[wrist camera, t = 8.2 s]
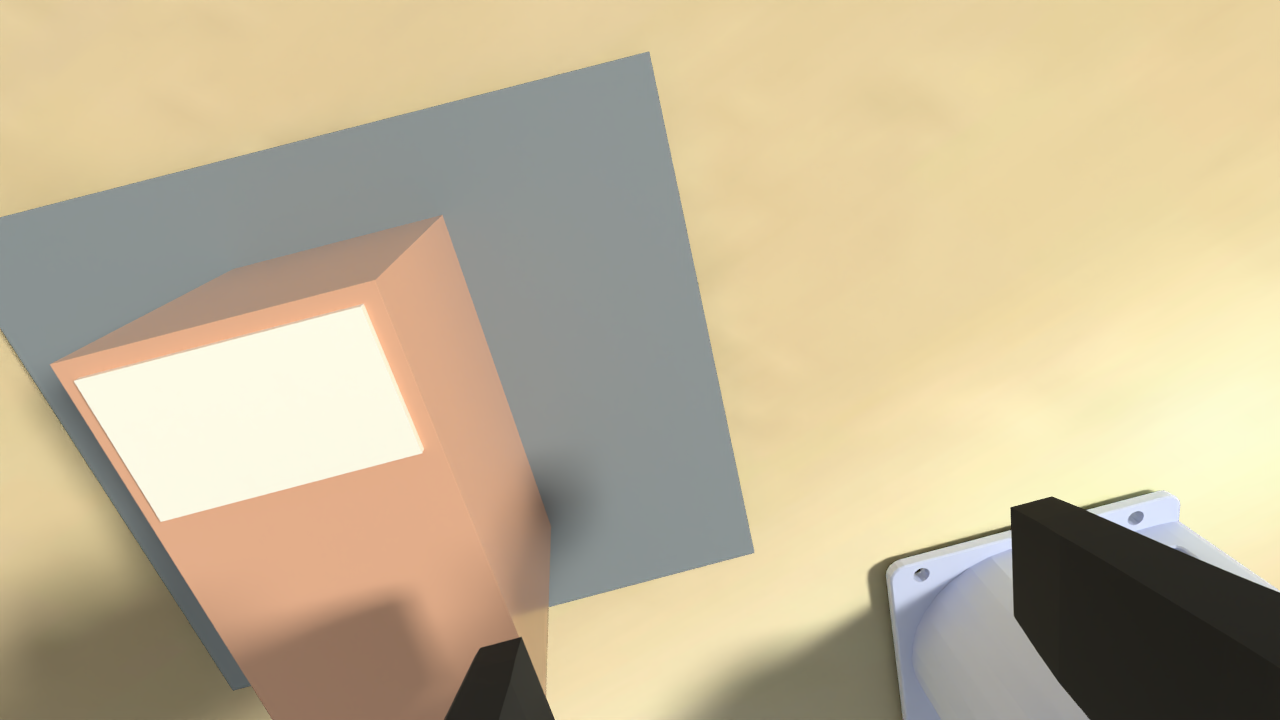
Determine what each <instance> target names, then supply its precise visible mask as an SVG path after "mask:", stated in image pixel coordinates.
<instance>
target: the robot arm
mask: <svg viewBox="0 0 1280 720" xmlns="http://www.w3.org/2000/svg"><path fill="white" fill-rule="evenodd" d="M1179 513H1180V501H1179V499H1178V498H1177V497H1176V496H1174V495H1172V494H1171V493H1169V492H1167V491H1164V490H1163V491H1156V492H1153V493H1149V494H1145V495H1141V496H1137V497H1134V498H1130V499H1126V500H1122V501H1119V502H1115V503H1111V504H1107V505H1103V506H1100V507H1096V508H1092V509H1088V510H1084V509H1082V508H1079V507H1077V506H1074V505H1072V504H1070V503H1067V502H1064V501H1062V500H1059V499H1057V498H1054V497H1048V498H1045V499H1041V500H1037V501H1033V502H1029V503H1026V504H1022V505H1018V506H1014V507H1011V530H1009V531H1005V532H1002V533H998V534H994V535H990V536H986V537H983V538H979V539H975V540H971V541H968V542H964V543H960V544H956V545H953V546H949V547H945V548H941V549H937V550H934V551H930V552H926V553H922V554H919V555H915V556H911V557H907V558H903V559H900V560H897V561H895V562H893V563H892V564H891V565H890V566H889V567H888V569H887V571H886V581H887V589H888V598H889V606H890V614H891V623H892V631H893V640H894V648H895V656H896V665H897V673H898V682H899V690H900V699H901V707H902V715H903V720H1280V591H1279V590H1278V589H1277V588H1275V587H1274V586H1272V585H1271V584H1269V583H1268V582H1266V581H1265V580H1264V579H1262V578H1261V577H1259V576H1258V575H1256V574H1255V573H1253V572H1252V571H1250V570H1249V569H1248V568H1246V567H1245V566H1243V565H1242V564H1240V563H1239V562H1237V561H1236V560H1235V559H1233V558H1232V557H1230V556H1229V555H1227V554H1226V553H1224V552H1223V551H1222V550H1220V549H1219V548H1217V547H1216V546H1214V545H1213V544H1211V543H1210V542H1208V541H1207V540H1206V539H1204V538H1203V537H1201V536H1200V535H1198V534H1197V533H1195V532H1194V531H1193V530H1191V529H1190V528H1188V527H1187V526H1185V525H1184V524H1182V523H1181V522H1179ZM921 568H923V569H922V570H921V571H920V572H918V573H915V572H916V571H917V570H919V569H921ZM444 720H555V719H554V717H553V714H552V712H551V709H550V707H549V704H548V702H547V699H546V697H545V694H544V692H543V689H542V686H541V684H540V681H539V679H538V676H537V674H536V671H535V669H534V666H533V664H532V661H531V659H530V656H529V654H528V651H527V649H526V646H525V644H524V641H523V639H522V637H519V638H515V639H512V640H508V641H504V642H500V643H496V644H493V645H489V646H485V647H481V648H480V649H479V650H478V652H477V654H476V655H475V657H474V659H473V661H472V663H471V665H470V667H469V669H468V671H467V673H466V675H465V677H464V680H463V682H462V684H461V686H460V688H459V690H458V692H457V694H456V696H455V698H454V700H453V702H452V704H451V706H450V708H449V710H448V712H447V714H446V716H445V718H444Z"/></svg>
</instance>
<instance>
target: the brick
mask: <svg viewBox="0 0 1280 720" xmlns="http://www.w3.org/2000/svg"><path fill="white" fill-rule="evenodd" d="M50 366H51V367H52V369H53V370H54V372H55V374H56V375H57V377H58V378H59V380H60V382H61V383H62V385H63V386H64V388H65V390H66V391H67V393H68V394H69V396H70V397H71V399H72V401H73V402H74V404H75V405H76V407H77V409H78V410H79V412H80V413H81V415H82V417H83V418H84V420H85V421H86V423H87V425H88V426H89V428H90V429H91V431H92V433H93V434H94V436H95V437H96V439H97V441H98V442H99V444H100V445H101V447H102V448H103V450H104V452H105V453H106V455H107V456H108V458H109V460H110V461H111V463H112V464H113V466H114V468H115V469H116V471H117V472H118V474H119V476H120V477H121V479H122V480H123V482H124V484H125V485H126V487H127V488H128V490H129V492H130V493H131V495H132V496H133V498H134V500H135V501H136V503H137V504H138V506H139V507H140V509H141V511H142V512H143V514H144V515H145V517H146V519H147V520H148V522H149V523H150V525H151V527H152V528H153V530H154V531H155V533H156V535H157V536H158V538H159V539H160V541H161V543H162V544H163V546H164V547H165V549H166V551H167V552H168V554H169V555H170V557H171V559H172V560H173V562H174V563H175V565H176V566H177V568H178V570H179V571H180V573H181V574H182V576H183V578H184V579H185V581H186V582H187V584H188V586H189V587H190V589H191V590H192V592H193V594H194V595H195V597H196V598H197V600H198V602H199V603H200V605H201V606H202V608H203V610H204V611H205V613H206V614H207V616H208V618H209V619H210V621H211V622H212V624H213V625H214V627H215V629H216V630H217V632H218V633H219V635H220V637H221V638H222V640H223V641H224V643H225V645H226V646H227V648H228V649H229V651H230V653H231V654H232V656H233V657H234V659H235V661H236V662H237V664H238V665H239V667H240V669H241V670H242V672H243V673H244V675H245V676H246V678H247V680H248V681H249V683H250V684H251V686H252V688H253V689H254V691H255V692H256V694H257V696H258V697H259V699H260V700H261V702H262V704H263V705H264V707H265V708H266V710H267V712H268V713H269V715H270V716H271V718H272V720H444V718H445V716H446V714H447V712H448V710H449V708H450V706H451V704H452V702H453V700H454V698H455V696H456V694H457V692H458V690H459V688H460V686H461V684H462V682H463V680H464V677H465V675H466V673H467V671H468V669H469V667H470V665H471V663H472V661H473V659H474V657H475V655H476V654H477V652H478V650H479V649H480V648H481V647H485V646H489V645H493V644H496V643H500V642H504V641H508V640H512V639H515V638H519V637H522V639H523V641H524V644H525V646H526V649H527V651H528V654H529V656H530V659H531V661H532V664H533V666H534V669H535V671H536V674H537V676H538V679H539V681H540V684H541V686H542V689H543V692H544V694H545V697H546V677H547V644H548V611H549V578H550V545H551V525H550V522H549V519H548V516H547V513H546V510H545V507H544V505H543V502H542V499H541V496H540V493H539V490H538V487H537V485H536V482H535V479H534V476H533V473H532V470H531V467H530V464H529V462H528V459H527V456H526V453H525V450H524V447H523V444H522V442H521V439H520V436H519V433H518V430H517V427H516V424H515V421H514V419H513V416H512V413H511V410H510V407H509V404H508V401H507V399H506V396H505V393H504V390H503V387H502V384H501V381H500V379H499V376H498V373H497V370H496V367H495V364H494V361H493V358H492V356H491V353H490V350H489V347H488V344H487V341H486V338H485V336H484V333H483V330H482V327H481V324H480V321H479V318H478V316H477V313H476V310H475V307H474V304H473V301H472V298H471V295H470V293H469V290H468V287H467V284H466V281H465V278H464V275H463V273H462V270H461V267H460V264H459V261H458V258H457V255H456V252H455V250H454V247H453V244H452V241H451V238H450V235H449V232H448V230H447V227H446V224H445V221H444V218H443V215H440V216H436V217H432V218H428V219H424V220H421V221H417V222H413V223H409V224H405V225H401V226H397V227H394V228H390V229H386V230H382V231H378V232H374V233H370V234H366V235H363V236H359V237H355V238H351V239H347V240H343V241H339V242H336V243H332V244H328V245H324V246H320V247H316V248H312V249H309V250H305V251H301V252H297V253H293V254H289V255H285V256H281V257H278V258H274V259H270V260H266V261H262V262H258V263H254V264H251V265H247V266H243V267H239V268H235V269H232V270H230V271H228V272H226V273H224V274H222V275H221V276H219V277H217V278H215V279H213V280H211V281H209V282H207V283H205V284H203V285H201V286H199V287H198V288H196V289H194V290H192V291H190V292H188V293H186V294H184V295H182V296H180V297H178V298H176V299H174V300H173V301H171V302H169V303H167V304H165V305H163V306H161V307H159V308H157V309H155V310H153V311H151V312H149V313H148V314H146V315H144V316H142V317H140V318H138V319H136V320H134V321H132V322H130V323H128V324H126V325H124V326H123V327H121V328H119V329H117V330H115V331H113V332H111V333H109V334H107V335H105V336H103V337H101V338H99V339H98V340H96V341H94V342H92V343H90V344H88V345H86V346H84V347H82V348H80V349H78V350H76V351H75V352H73V353H71V354H69V355H67V356H65V357H63V358H61V359H59V360H57V361H55V362H53V363H51V364H50Z"/></svg>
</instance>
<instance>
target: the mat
mask: <svg viewBox="0 0 1280 720" xmlns="http://www.w3.org/2000/svg"><path fill="white" fill-rule="evenodd" d="M440 215H443V218H444V221H445V224H446V227H447V230H448V232H449V235H450V238H451V241H452V244H453V247H454V250H455V252H456V255H457V258H458V261H459V264H460V267H461V270H462V273H463V275H464V278H465V281H466V284H467V287H468V290H469V293H470V295H471V298H472V301H473V304H474V307H475V310H476V313H477V316H478V318H479V321H480V324H481V327H482V330H483V333H484V336H485V338H486V341H487V344H488V347H489V350H490V353H491V356H492V358H493V361H494V364H495V367H496V370H497V373H498V376H499V379H500V381H501V384H502V387H503V390H504V393H505V396H506V399H507V401H508V404H509V407H510V410H511V413H512V416H513V419H514V421H515V424H516V427H517V430H518V433H519V436H520V439H521V442H522V444H523V447H524V450H525V453H526V456H527V459H528V462H529V464H530V467H531V470H532V473H533V476H534V479H535V482H536V485H537V487H538V490H539V493H540V496H541V499H542V502H543V505H544V507H545V510H546V513H547V516H548V519H549V522H550V525H551V545H550V578H549V607H551V606H555V605H559V604H562V603H566V602H570V601H574V600H578V599H581V598H585V597H589V596H593V595H597V594H600V593H604V592H608V591H612V590H615V589H619V588H623V587H627V586H631V585H634V584H638V583H642V582H646V581H650V580H653V579H657V578H661V577H665V576H668V575H672V574H676V573H680V572H684V571H687V570H691V569H695V568H699V567H703V566H706V565H710V564H714V563H718V562H721V561H725V560H729V559H733V558H737V557H740V556H744V555H748V554H752V553H754V549H753V544H752V539H751V534H750V529H749V525H748V520H747V515H746V510H745V506H744V501H743V496H742V491H741V487H740V482H739V477H738V472H737V468H736V463H735V458H734V453H733V449H732V444H731V439H730V434H729V429H728V425H727V420H726V415H725V410H724V406H723V401H722V396H721V391H720V387H719V382H718V377H717V372H716V368H715V363H714V358H713V353H712V348H711V344H710V339H709V334H708V329H707V325H706V320H705V315H704V310H703V306H702V301H701V296H700V291H699V287H698V282H697V277H696V272H695V268H694V263H693V258H692V253H691V248H690V244H689V239H688V234H687V229H686V225H685V220H684V215H683V210H682V206H681V201H680V196H679V191H678V187H677V182H676V177H675V172H674V168H673V163H672V158H671V153H670V148H669V144H668V139H667V134H666V129H665V125H664V120H663V115H662V110H661V106H660V101H659V96H658V91H657V87H656V82H655V77H654V72H653V67H652V63H651V58H650V53H649V52H646V53H642V54H638V55H634V56H630V57H626V58H622V59H618V60H614V61H610V62H606V63H603V64H599V65H595V66H591V67H587V68H583V69H579V70H575V71H571V72H567V73H563V74H559V75H556V76H552V77H548V78H544V79H540V80H536V81H532V82H528V83H524V84H520V85H516V86H513V87H509V88H505V89H501V90H497V91H493V92H489V93H485V94H481V95H477V96H473V97H470V98H466V99H462V100H458V101H454V102H450V103H446V104H442V105H438V106H434V107H430V108H427V109H423V110H419V111H415V112H411V113H407V114H403V115H399V116H395V117H391V118H387V119H383V120H380V121H376V122H372V123H368V124H364V125H360V126H356V127H352V128H348V129H344V130H340V131H337V132H333V133H329V134H325V135H321V136H317V137H313V138H309V139H305V140H301V141H297V142H294V143H290V144H286V145H282V146H278V147H274V148H270V149H266V150H262V151H258V152H254V153H250V154H247V155H243V156H239V157H235V158H231V159H227V160H223V161H219V162H215V163H211V164H207V165H204V166H200V167H196V168H192V169H188V170H184V171H180V172H176V173H172V174H168V175H164V176H161V177H157V178H153V179H149V180H145V181H141V182H137V183H133V184H129V185H125V186H121V187H118V188H114V189H110V190H106V191H102V192H98V193H94V194H90V195H86V196H82V197H78V198H74V199H71V200H67V201H63V202H59V203H55V204H51V205H47V206H43V207H39V208H35V209H31V210H28V211H24V212H20V213H16V214H12V215H8V216H4V217H0V329H1V330H2V332H3V333H4V335H5V336H6V338H7V339H8V341H9V343H10V344H11V346H12V347H13V349H14V350H15V352H16V353H17V355H18V357H19V358H20V360H21V361H22V363H23V364H24V366H25V367H26V369H27V371H28V372H29V374H30V375H31V377H32V378H33V380H34V382H35V383H36V385H37V386H38V388H39V389H40V391H41V392H42V394H43V396H44V397H45V399H46V400H47V402H48V403H49V405H50V406H51V408H52V410H53V411H54V413H55V414H56V416H57V417H58V419H59V420H60V422H61V424H62V425H63V427H64V428H65V430H66V431H67V433H68V434H69V436H70V438H71V439H72V441H73V442H74V444H75V445H76V447H77V448H78V450H79V452H80V453H81V455H82V456H83V458H84V459H85V461H86V463H87V464H88V466H89V467H90V469H91V470H92V472H93V473H94V475H95V477H96V478H97V480H98V481H99V483H100V484H101V486H102V487H103V489H104V491H105V492H106V494H107V495H108V497H109V498H110V500H111V501H112V503H113V505H114V506H115V508H116V509H117V511H118V512H119V514H120V515H121V517H122V519H123V520H124V522H125V523H126V525H127V526H128V528H129V529H130V531H131V533H132V534H133V536H134V537H135V539H136V540H137V542H138V543H139V545H140V547H141V548H142V550H143V551H144V553H145V554H146V556H147V558H148V559H149V561H150V562H151V564H152V565H153V567H154V568H155V570H156V572H157V573H158V575H159V576H160V578H161V579H162V581H163V582H164V584H165V586H166V587H167V589H168V590H169V592H170V593H171V595H172V596H173V598H174V600H175V601H176V603H177V604H178V606H179V607H180V609H181V610H182V612H183V614H184V615H185V617H186V618H187V620H188V621H189V623H190V624H191V626H192V628H193V629H194V631H195V632H196V634H197V635H198V637H199V639H200V640H201V642H202V643H203V645H204V646H205V648H206V649H207V651H208V653H209V654H210V656H211V657H212V659H213V660H214V662H215V663H216V665H217V667H218V668H219V670H220V671H221V673H222V674H223V676H224V677H225V679H226V681H227V682H228V684H229V685H230V687H231V688H232V690H237V689H241V688H245V687H248V686H251V684H250V683H249V681H248V680H247V678H246V676H245V675H244V673H243V672H242V670H241V669H240V667H239V665H238V664H237V662H236V661H235V659H234V657H233V656H232V654H231V653H230V651H229V649H228V648H227V646H226V645H225V643H224V641H223V640H222V638H221V637H220V635H219V633H218V632H217V630H216V629H215V627H214V625H213V624H212V622H211V621H210V619H209V618H208V616H207V614H206V613H205V611H204V610H203V608H202V606H201V605H200V603H199V602H198V600H197V598H196V597H195V595H194V594H193V592H192V590H191V589H190V587H189V586H188V584H187V582H186V581H185V579H184V578H183V576H182V574H181V573H180V571H179V570H178V568H177V566H176V565H175V563H174V562H173V560H172V559H171V557H170V555H169V554H168V552H167V551H166V549H165V547H164V546H163V544H162V543H161V541H160V539H159V538H158V536H157V535H156V533H155V531H154V530H153V528H152V527H151V525H150V523H149V522H148V520H147V519H146V517H145V515H144V514H143V512H142V511H141V509H140V507H139V506H138V504H137V503H136V501H135V500H134V498H133V496H132V495H131V493H130V492H129V490H128V488H127V487H126V485H125V484H124V482H123V480H122V479H121V477H120V476H119V474H118V472H117V471H116V469H115V468H114V466H113V464H112V463H111V461H110V460H109V458H108V456H107V455H106V453H105V452H104V450H103V448H102V447H101V445H100V444H99V442H98V441H97V439H96V437H95V436H94V434H93V433H92V431H91V429H90V428H89V426H88V425H87V423H86V421H85V420H84V418H83V417H82V415H81V413H80V412H79V410H78V409H77V407H76V405H75V404H74V402H73V401H72V399H71V397H70V396H69V394H68V393H67V391H66V390H65V388H64V386H63V385H62V383H61V382H60V380H59V378H58V377H57V375H56V374H55V372H54V370H53V369H52V367H51V366H50V364H51V363H53V362H55V361H57V360H59V359H61V358H63V357H65V356H67V355H69V354H71V353H73V352H75V351H76V350H78V349H80V348H82V347H84V346H86V345H88V344H90V343H92V342H94V341H96V340H98V339H99V338H101V337H103V336H105V335H107V334H109V333H111V332H113V331H115V330H117V329H119V328H121V327H123V326H124V325H126V324H128V323H130V322H132V321H134V320H136V319H138V318H140V317H142V316H144V315H146V314H148V313H149V312H151V311H153V310H155V309H157V308H159V307H161V306H163V305H165V304H167V303H169V302H171V301H173V300H174V299H176V298H178V297H180V296H182V295H184V294H186V293H188V292H190V291H192V290H194V289H196V288H198V287H199V286H201V285H203V284H205V283H207V282H209V281H211V280H213V279H215V278H217V277H219V276H221V275H222V274H224V273H226V272H228V271H230V270H232V269H235V268H239V267H243V266H247V265H251V264H254V263H258V262H262V261H266V260H270V259H274V258H278V257H281V256H285V255H289V254H293V253H297V252H301V251H305V250H309V249H312V248H316V247H320V246H324V245H328V244H332V243H336V242H339V241H343V240H347V239H351V238H355V237H359V236H363V235H366V234H370V233H374V232H378V231H382V230H386V229H390V228H394V227H397V226H401V225H405V224H409V223H413V222H417V221H421V220H424V219H428V218H432V217H436V216H440Z"/></svg>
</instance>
